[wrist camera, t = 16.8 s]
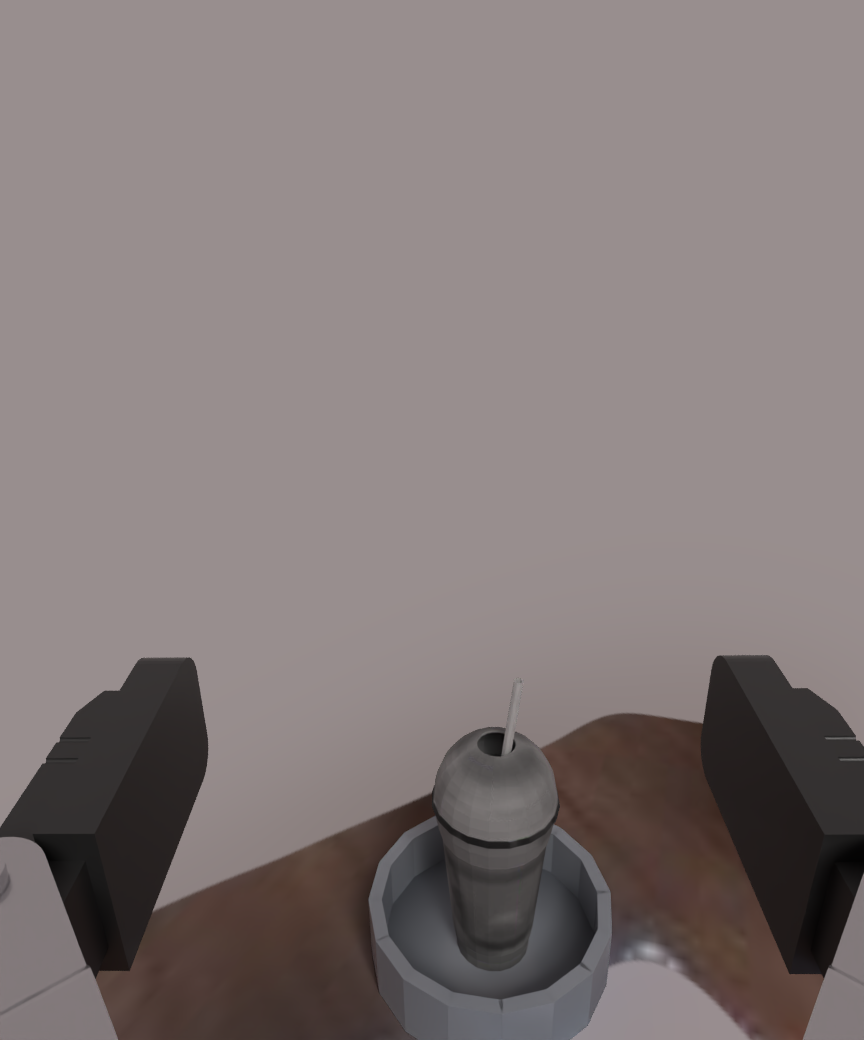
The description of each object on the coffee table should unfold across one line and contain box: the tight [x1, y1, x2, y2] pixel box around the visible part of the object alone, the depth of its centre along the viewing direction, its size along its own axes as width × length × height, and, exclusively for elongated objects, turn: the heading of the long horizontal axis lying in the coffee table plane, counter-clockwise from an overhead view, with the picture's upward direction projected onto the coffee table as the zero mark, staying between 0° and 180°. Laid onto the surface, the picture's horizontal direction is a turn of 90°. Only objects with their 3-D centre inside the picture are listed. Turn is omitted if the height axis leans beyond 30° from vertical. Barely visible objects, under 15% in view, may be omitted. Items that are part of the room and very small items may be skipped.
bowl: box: [368, 816, 612, 1040], centre depth 50 cm, size 15×15×4 cm
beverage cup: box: [432, 678, 560, 971], centre depth 46 cm, size 7×7×20 cm
